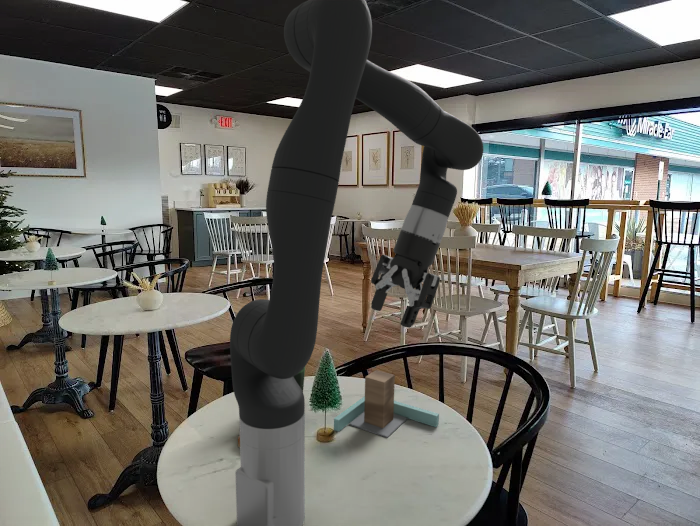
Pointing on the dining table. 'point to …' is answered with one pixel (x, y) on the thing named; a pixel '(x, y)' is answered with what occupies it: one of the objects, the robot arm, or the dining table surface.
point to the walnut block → (379, 398)
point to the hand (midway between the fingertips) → (390, 317)
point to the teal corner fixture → (399, 417)
